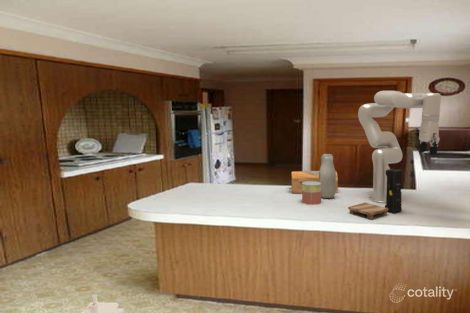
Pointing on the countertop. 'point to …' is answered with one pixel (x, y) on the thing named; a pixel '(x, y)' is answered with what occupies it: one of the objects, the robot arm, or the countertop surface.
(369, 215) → the stand
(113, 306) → the bracket
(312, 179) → the wooden box
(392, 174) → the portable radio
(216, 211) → the countertop surface
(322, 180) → the grey bottle
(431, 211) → the countertop surface
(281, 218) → the countertop surface
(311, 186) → the canned food
